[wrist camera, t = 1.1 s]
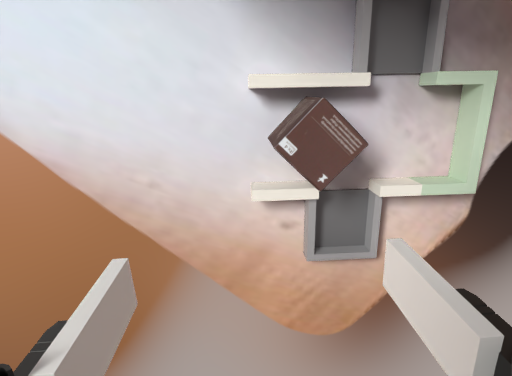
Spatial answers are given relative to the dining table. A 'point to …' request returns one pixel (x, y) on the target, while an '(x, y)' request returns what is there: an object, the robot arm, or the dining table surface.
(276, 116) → the dining table surface
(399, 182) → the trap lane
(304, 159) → the box
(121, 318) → the robot arm
